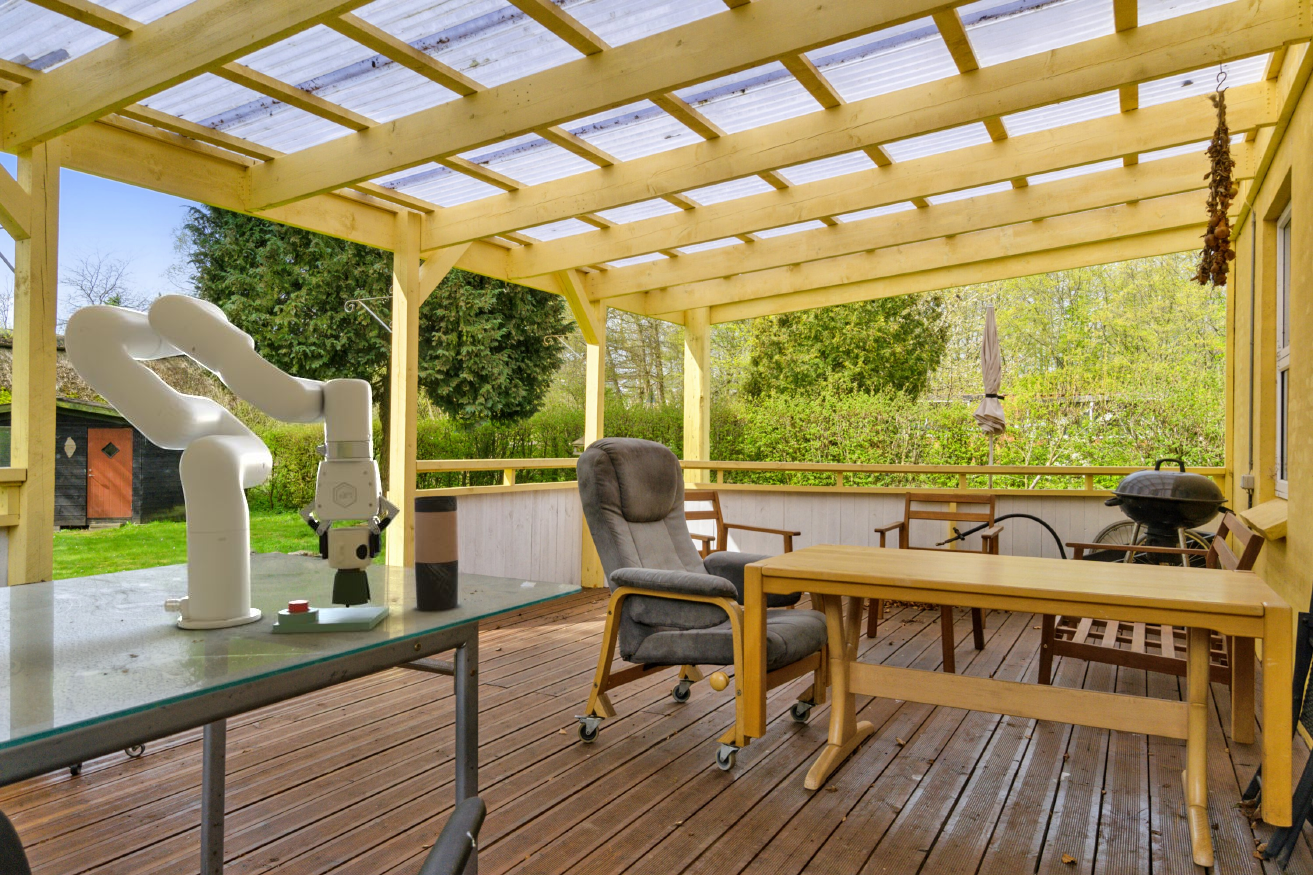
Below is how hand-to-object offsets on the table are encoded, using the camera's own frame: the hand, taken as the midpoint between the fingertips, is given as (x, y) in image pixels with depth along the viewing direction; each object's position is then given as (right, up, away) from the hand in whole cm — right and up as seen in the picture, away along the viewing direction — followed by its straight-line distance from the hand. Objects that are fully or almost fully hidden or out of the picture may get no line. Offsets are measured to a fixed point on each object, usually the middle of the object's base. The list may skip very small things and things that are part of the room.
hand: (350, 556), depth 145 cm
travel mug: (+12, -11, +10) cm, 19 cm away
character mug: (0, -8, 0) cm, 8 cm away
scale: (-2, -11, -2) cm, 11 cm away
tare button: (-7, -8, -6) cm, 12 cm away
